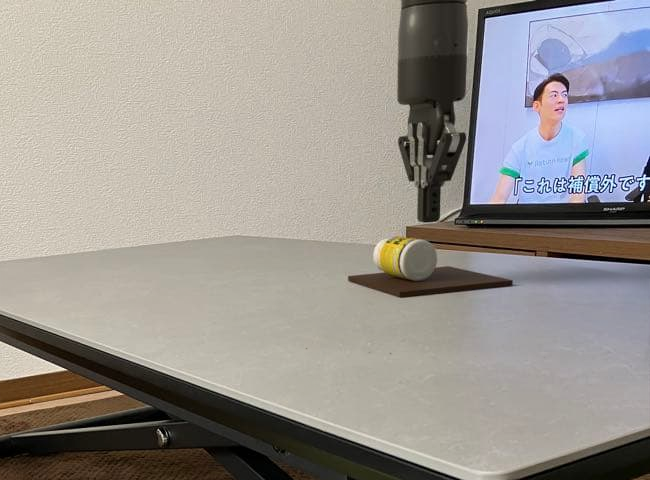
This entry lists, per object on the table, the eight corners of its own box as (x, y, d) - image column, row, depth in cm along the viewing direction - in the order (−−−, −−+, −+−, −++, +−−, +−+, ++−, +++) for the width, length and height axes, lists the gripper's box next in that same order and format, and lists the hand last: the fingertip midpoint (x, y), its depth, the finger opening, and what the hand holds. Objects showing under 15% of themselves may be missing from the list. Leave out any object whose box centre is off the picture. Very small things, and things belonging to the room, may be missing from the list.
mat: (448, 270, 118) (448, 266, 118) (512, 285, 104) (512, 280, 103) (347, 280, 115) (347, 276, 115) (399, 297, 100) (399, 291, 100)
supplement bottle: (405, 238, 104) (371, 234, 111) (400, 280, 105) (367, 273, 113) (441, 240, 105) (406, 236, 113) (435, 282, 107) (401, 275, 114)
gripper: (494, 47, 94) (485, 222, 101) (436, 59, 105) (432, 216, 112) (427, 49, 92) (423, 228, 99) (376, 62, 104) (376, 221, 111)
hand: (428, 221), depth 106 cm, fingers closed
